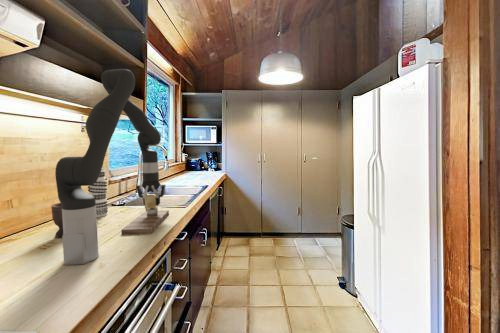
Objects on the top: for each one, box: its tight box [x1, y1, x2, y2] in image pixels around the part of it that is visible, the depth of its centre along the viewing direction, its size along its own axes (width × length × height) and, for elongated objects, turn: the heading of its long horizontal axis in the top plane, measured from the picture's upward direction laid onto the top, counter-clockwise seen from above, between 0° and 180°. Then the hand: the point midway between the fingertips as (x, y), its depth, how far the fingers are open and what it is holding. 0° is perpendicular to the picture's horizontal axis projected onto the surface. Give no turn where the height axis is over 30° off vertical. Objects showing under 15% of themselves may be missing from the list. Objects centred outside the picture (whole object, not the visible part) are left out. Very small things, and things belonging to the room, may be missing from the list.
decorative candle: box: [87, 167, 109, 218], centre depth 143 cm, size 9×9×25 cm
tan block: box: [144, 193, 160, 211], centre depth 132 cm, size 11×5×6 cm, turn 4°
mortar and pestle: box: [50, 202, 64, 239], centre depth 111 cm, size 12×9×20 cm
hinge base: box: [120, 206, 170, 235], centre depth 128 cm, size 32×12×11 cm, turn 4°
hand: (151, 205), depth 135 cm, fingers closed on tan block, 5 cm apart
